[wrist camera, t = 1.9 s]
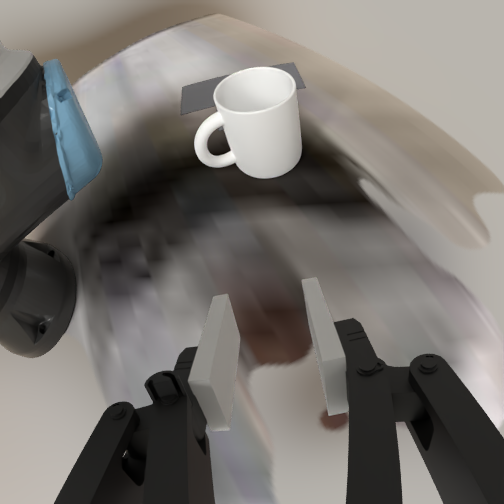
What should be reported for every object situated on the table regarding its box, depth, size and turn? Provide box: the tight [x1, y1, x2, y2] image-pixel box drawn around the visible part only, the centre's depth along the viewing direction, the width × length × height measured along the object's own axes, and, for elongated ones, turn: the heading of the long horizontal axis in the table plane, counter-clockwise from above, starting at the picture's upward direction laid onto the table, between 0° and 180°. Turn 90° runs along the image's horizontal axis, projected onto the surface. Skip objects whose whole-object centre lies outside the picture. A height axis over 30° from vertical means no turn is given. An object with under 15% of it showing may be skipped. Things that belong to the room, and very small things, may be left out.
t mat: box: [181, 62, 306, 131], centre depth 45 cm, size 19×14×1 cm
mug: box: [194, 67, 302, 178], centre depth 34 cm, size 12×8×10 cm
